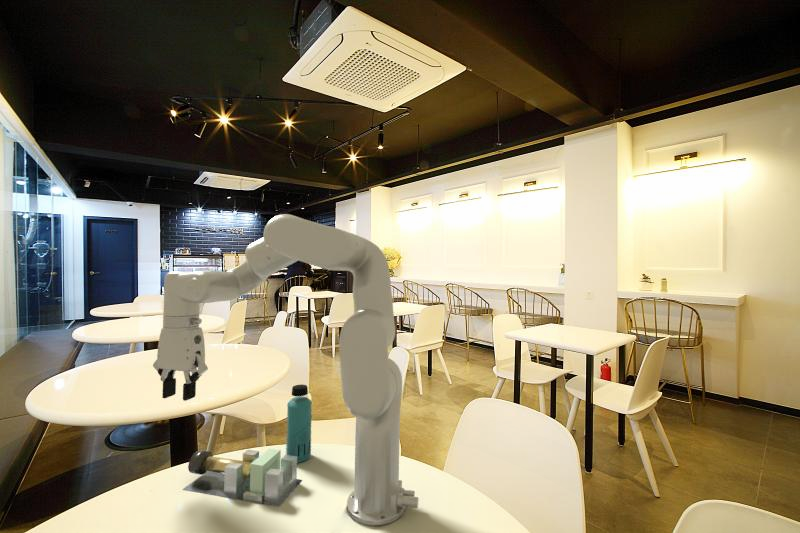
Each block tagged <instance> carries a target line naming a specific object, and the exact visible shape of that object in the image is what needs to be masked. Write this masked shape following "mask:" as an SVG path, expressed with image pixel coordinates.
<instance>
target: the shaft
mask: <svg viewBox="0 0 800 533" xmlns="http://www.w3.org/2000/svg"><path fill="white" fill-rule="evenodd" d="M231 462H233V463H239V464H243V475H242V477H247V478H250V465H251V463H252V462H245V461H243V460H239V459H238V460H237V459H231V458H224V457H219V456H218V457H217V456H213V453H212V452H211V451H207V450H199V449H198V450H197V451H195V452H194V453H193V454H192V455H191V457H190V459H189V462H188V464H187V465H188V466H187V469H188V472H189V473H191V474H194V475H200V476H202V475H203V474H205V473H206V472H207V471H211V472H217V473H223V474H225V466H227V465H228V464H229V463H231Z"/></svg>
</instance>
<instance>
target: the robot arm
mask: <svg viewBox="0 0 800 533" xmlns="http://www.w3.org/2000/svg"><path fill="white" fill-rule="evenodd" d="M262 236H263V237H261V238H259V239H257V240H255V241H254V242H251V243H250V244H249V245H247V246H246V248H245V252H244V255H245V261H243V263H241V264H239V265H238V266H235V267H232V269H229V270H227V271H222V270H221V271H220V270H218V271H215V270H211V271H210V270H206V271H205V270H202V271H201V270H200V271H169V272H167V273H166V274H165V276H164V284H163V285H164V286H163V287H164V288H163V315H162V328H161V330H160V333H159V339H158V345H157V355H156V356H157V357H156V360H155V361H154V363H153V364H152V367H153V368H154V369H155V370H156V371H157V373H158V375H159V376H160V381H161V382H162V399H167V398H170V397H172V396H175V395H176V392H177V391H176V390H177V378H176V377H175V374H176V371H177V372H183V375H184V381H185V383H183V385H182V400H183V401H185V402H186V401H189V400H192V399H193V398H195V397H196V392H197V391H196V390H197V389H196V385H197V381H199V379H200V378H201V377H202V376H203V374H205V373H206V371H208V368H209V367H208V366H207V364H206V348H205V346H206V345H205V337H204V331H203V328H202V327H201V326H200V324H202V318H200V307H201V304H209V303H215V302H216V303H219V302H227V301H228V302H229V301H232V300H235V299H238V298H240V297H241V296H244V295H246V294H248V293H250V292H252V291H254V290H256V288H258V287H260V286H261V285H262V284H263V283H264V282H265V281H266V280H267V279H268V278H269V277H271V276H272V275H273V274H276V273H277V272H280V271H281V270H283V269H285V268H286V267H289V266H290V265H293V264H294V263H296V262H298V261H299V262H302V263H306V264H308V265H311V266H315V267H318V268H322V269H325V270H329V271H343V272H345V271H348V272H350V273H351V275H352V276H353V283H352V298H353V314H352V315H350V317H348V318H347V319H346V320H345V322H344V323H343V325H342V328H341V330H340V333H339V339H338V340H339V342H338V344H339V345H338V349H339V351H338V352H339V364H340V378H341V392H342V398H343V402H344V405H345V406H346V408H347V409H348V411H349V412H350V413H351V414H352V415H353V416H354V417H355V437H354V438H355V439H354V440H355V444H354V445H355V446H354V447H355V448H354V450H355V451H354V490H353V491H352V492H351V493H350V494H349V495H348V497H347V501H346V511H347V513H348V515H349V516H350V517H351V519H352V520H354V521H355V522H357V523H359V524H363V525H367V526H383V525H388V524H391V523H393V522H395V521H396V520H398V519H399V518H400V517H401V516H402V515H403V514H404V512H405V510H406V507H408V508H412V509H413V508H414V509H418V508H419V497H417V496H415V495H416V492H415V490H410V489H409V490H408V489H405V488H404V487H403V480H400V476H399V475H400V474H399V473H400V433H401V432H400V431H401V427H400V426H401V423H400V422H401V404H402V393H403V377H402V376H403V375H402V372H401V369H400V368H399V366H398V364H397V363H396V362H395V361H394V360H393V359H391V358H390V357H389V352H388V350H389V347H390V346H391V345H392V344H393V342H394V340H395V337H396V325H395V318H394V316H395V315H394V303H393V293H392V285H391V284H392V282H391V274H390V267H389V264H388V260H387V258H386V256H385V254H384V252H383V250H382V249H380V248H379V246H378V245H377V244H375V243H374V242H372V241H370V240H369V239H367V238H364V237H363V236H360V235H357V234H354V233H352V232H349V231H345V230H343V229H340V228H337V227H333V226H329V225H325V224H323V223H318V222H315V221H311V220H308V219H306V218H305V219H304V218H302V217H299V216H296V215H293V214H289V213H283V214H282V213H280V214H278V215H275V216H274V217H272V218H271V219H270V220H268V222H267V223H266V225H265V226H264V228H263V235H262Z"/></svg>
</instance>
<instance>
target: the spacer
mask: <svg viewBox="0 0 800 533" xmlns="http://www.w3.org/2000/svg"><path fill="white" fill-rule="evenodd" d="M281 453H282V452H281V449H275V448H268V449H266V451H265V452H263V453H262V454H261V455H259V457H258V458H257V459H256V460H255V461H253V462H252V463H251V465H250V492H254V493H259V494H264V496H265V473H266V472H267V471H268V470H269V469H271V468H272V469H279V470H281V455H282V454H281Z"/></svg>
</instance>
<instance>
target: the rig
mask: <svg viewBox="0 0 800 533" xmlns="http://www.w3.org/2000/svg"><path fill="white" fill-rule="evenodd" d="M258 457H260V451H259V450H254V449H247V450H246V451H244V452H243V453H242V461H245V462H253V461H255V460H256V459H257V458H258ZM297 469H298V463H297V456H290V455H286V454H285V455H284V456H282V457H281V458H280V470H279V469H272V468H271V469H269V470H268V471H267V472H266V473H265V496H264V494H259V493H254V492H250V478H247V477H242V475H243V464H239V463H233V462H231V463H229V464H228V465H227V466H225V474H223V473H217V472H211V471H207V472H206V473H205V474H203V475H200V476H199V477H198V478H196V479H195V480H194V481H192V482H191V483H189V484H187V486H185V487H183V488H182V490H183V491H189V492H194V493H199V494H203V495H210V496H215V497H220V498H227V499H231V500H238V501H243V502H249V503H253V504H261V505H266V506H272V507H276V508H279V507H281V505H282V504H283V503H284V502H285V501H286V500H287V498H289V496H290V495H291V494H292V493H293V492H294V490H295V489H296V488H297V487H298V486H299V484H301V482H303V479H298V478H297V474H298V473H297V472H298V470H297Z"/></svg>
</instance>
